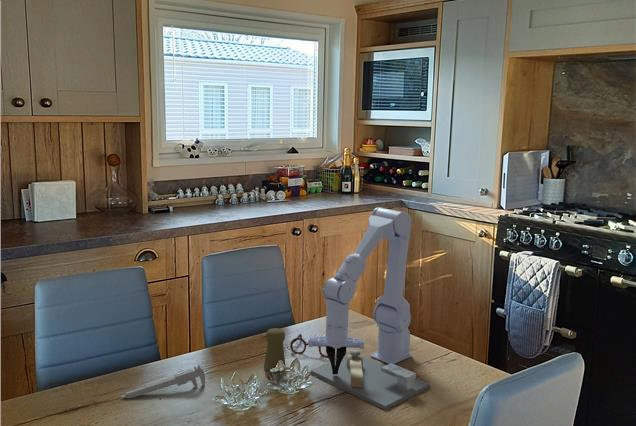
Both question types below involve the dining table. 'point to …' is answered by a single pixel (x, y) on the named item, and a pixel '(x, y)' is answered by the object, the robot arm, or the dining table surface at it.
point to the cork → (274, 348)
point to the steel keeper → (401, 376)
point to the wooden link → (355, 368)
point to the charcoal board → (370, 383)
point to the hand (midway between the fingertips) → (335, 372)
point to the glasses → (304, 346)
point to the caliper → (170, 382)
